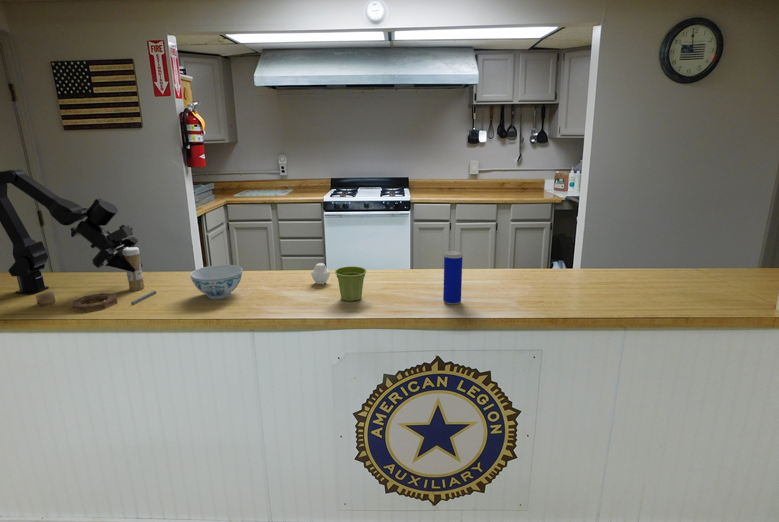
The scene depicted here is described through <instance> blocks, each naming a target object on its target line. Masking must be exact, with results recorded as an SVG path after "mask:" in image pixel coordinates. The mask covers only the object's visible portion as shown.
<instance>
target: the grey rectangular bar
mask: <svg viewBox="0 0 779 522" xmlns="http://www.w3.org/2000/svg"><path fill="white" fill-rule="evenodd" d="M156 294H157V291H156V290H153V291H151V292H148V293H147V294H145V295H142V296H141V297H139V298H137V299H135V300H134V299H133V300H132V301H131V302H130V303H131V304H132V305H133V306H134V305H136V304H138V303H139V302H142V301H144V300H146V299H148V298H150V297H152V296H154V295H156ZM131 304H130V305H131Z"/></svg>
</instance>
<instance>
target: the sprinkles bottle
mask: <svg viewBox="0 0 779 522" xmlns="http://www.w3.org/2000/svg"><path fill="white" fill-rule="evenodd" d="M123 255H124V258H125V259H126V260H127V261H128V262H129V263H130V264H131V265H132V266H133V267H134V268H135V269H136V271H135V272H130V271H126V277H127V281H128V286H129V288H128V289H129V290H130V291H133V290H134V291H140V290H142V289H144V288H145V283H144V276H143V269H142V267H141V264H142V263H140V262H141V257H140V249H139V247H137V246H136V247H135V246H134V247H129V248H125V249H123Z"/></svg>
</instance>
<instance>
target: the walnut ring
mask: <svg viewBox="0 0 779 522" xmlns="http://www.w3.org/2000/svg"><path fill="white" fill-rule="evenodd" d="M97 300H99V301H100V302H98V301H97ZM104 300H105V301H104ZM91 301H93V302H95V303H91ZM85 303H86V304H85ZM87 303H89V304H87ZM117 304H118V299H117V296H116V294H115V293H107V292H106V293H105V292H101V293H95V294H89V295H84V296H82V297H79V298H77V299H75V300H72V301H71V305H72V306H71V307H72V311H74V312H81V311H86V312H85V313H88V312H87V311H90V312H93V310H95V311H100V310H99V309H101V310H105V308H106V309H108V308H110V307H112V306H114V305H117ZM107 307H108V308H107Z"/></svg>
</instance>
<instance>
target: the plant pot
mask: <svg viewBox="0 0 779 522" xmlns="http://www.w3.org/2000/svg"><path fill="white" fill-rule="evenodd" d="M334 273H335V275H336V278H337V281H338V287H339V293H340V298H341V300H342V301H344V300H345V301H346V302H352V301H355V300H357V301H359V299H360V298H361V299H362V297H363V295H362V294H363V288H364V287H363V286H364V279H365V276H366V273H367V268H364V267H361V266H354V265H352V266H342V267H339V268H337V269H335V270H334ZM361 299H360V300H361Z"/></svg>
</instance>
